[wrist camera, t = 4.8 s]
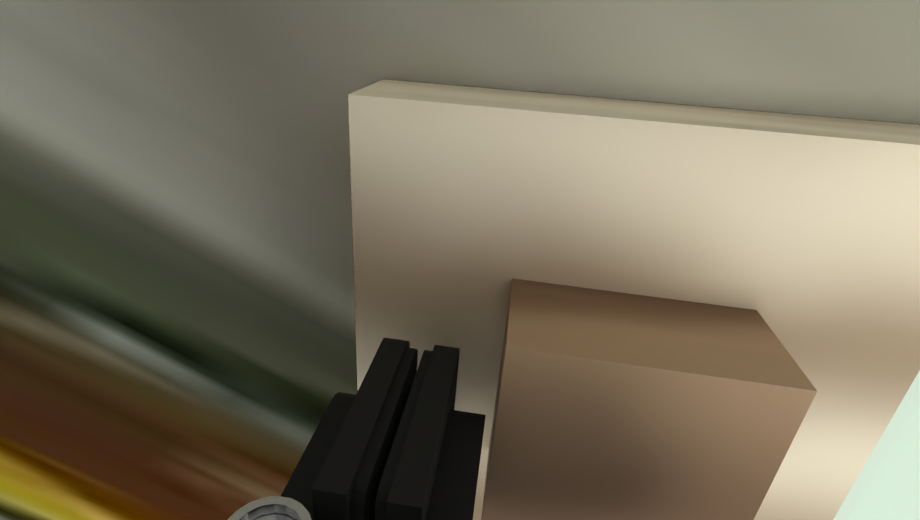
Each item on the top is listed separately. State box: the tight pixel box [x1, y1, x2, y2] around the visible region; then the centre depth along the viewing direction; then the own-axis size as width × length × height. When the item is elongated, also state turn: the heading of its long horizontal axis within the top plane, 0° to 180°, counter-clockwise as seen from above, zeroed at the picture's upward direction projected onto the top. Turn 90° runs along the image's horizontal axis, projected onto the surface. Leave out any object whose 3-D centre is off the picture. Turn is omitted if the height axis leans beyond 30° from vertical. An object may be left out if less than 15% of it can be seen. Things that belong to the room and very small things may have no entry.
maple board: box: [348, 79, 920, 520], centre depth 15 cm, size 20×12×2 cm, turn 176°
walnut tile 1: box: [481, 278, 817, 520], centre depth 11 cm, size 5×5×2 cm
